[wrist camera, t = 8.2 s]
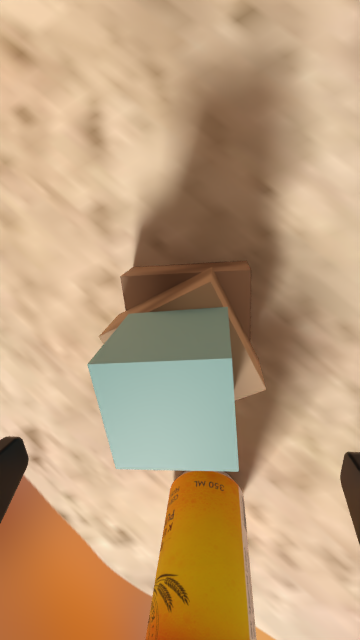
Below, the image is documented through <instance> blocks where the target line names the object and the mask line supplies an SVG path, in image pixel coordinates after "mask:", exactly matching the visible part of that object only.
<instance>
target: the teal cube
mask: <svg viewBox="0 0 360 640" xmlns="http://www.w3.org/2000/svg"><path fill="white" fill-rule="evenodd" d="M87 365H88V368H89V372H90V376H91V379H92V383H93V387H94V390H95V394H96V397H97V401H98V405H99V408H100V412H101V416H102V419H103V423H104V427H105V430H106V434H107V438H108V441H109V445H110V449H111V452H112V456H113V460H114V463H115V467H116V469H135V470H183V471H230V472H239V465H238V449H237V432H236V416H235V400H234V383H233V367H232V353H231V341H230V329H229V317H228V307H216V308H202V309H188V310H174V311H160V312H145V313H131V314H128V315H127V317H126V318H125V319H124V320H123V321H122V323H121V324H120V325H119V326H118V328H117V329H116V330H115V331H114V332H113V334H112V335H111V336H110V337H109V339H108V340H107V341H106V342H105V344H104V345H103V346H102V347H101V348H100V350H99V351H98V352H97V353H96V355H95V356H94V357H93V358H92V359H91V361H90V362H89V363H88V364H87Z"/></svg>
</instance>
